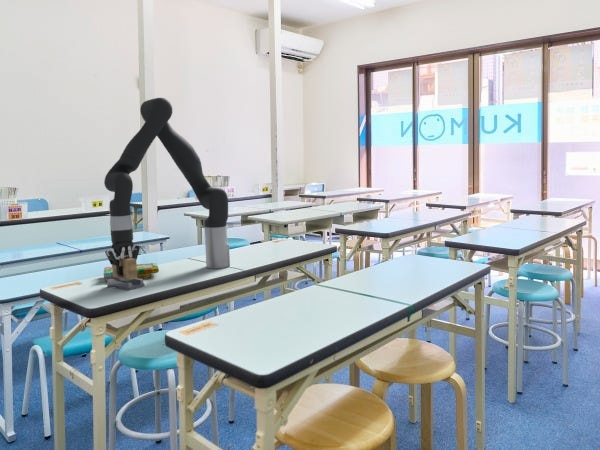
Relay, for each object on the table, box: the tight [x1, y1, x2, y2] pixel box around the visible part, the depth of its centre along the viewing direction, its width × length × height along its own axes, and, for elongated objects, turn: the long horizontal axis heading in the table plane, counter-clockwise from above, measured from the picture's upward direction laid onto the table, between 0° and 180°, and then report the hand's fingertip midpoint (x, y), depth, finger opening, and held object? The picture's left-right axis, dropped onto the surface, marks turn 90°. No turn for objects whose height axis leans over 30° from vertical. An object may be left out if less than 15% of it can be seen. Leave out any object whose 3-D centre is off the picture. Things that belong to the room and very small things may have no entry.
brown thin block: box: [111, 258, 137, 280], centre depth 185 cm, size 10×3×7 cm, turn 56°
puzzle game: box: [103, 262, 160, 283], centre depth 201 cm, size 12×5×20 cm
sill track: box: [106, 278, 145, 292], centre depth 186 cm, size 12×7×3 cm, turn 56°
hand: (124, 274), depth 185 cm, fingers closed on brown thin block, 3 cm apart
